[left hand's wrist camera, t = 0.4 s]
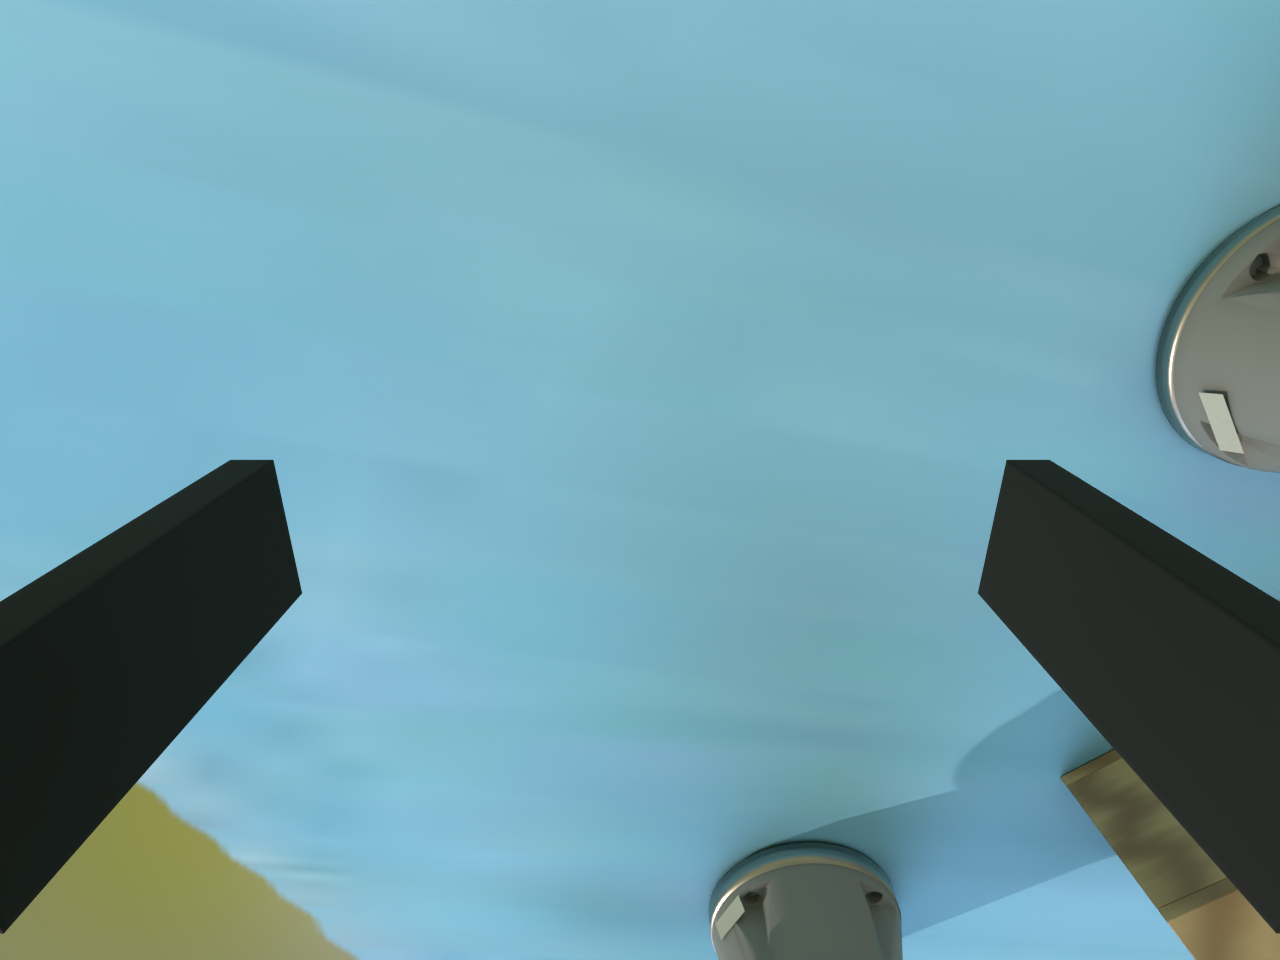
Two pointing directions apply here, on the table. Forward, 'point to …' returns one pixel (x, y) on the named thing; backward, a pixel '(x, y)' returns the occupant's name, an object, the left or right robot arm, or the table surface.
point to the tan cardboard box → (1170, 865)
